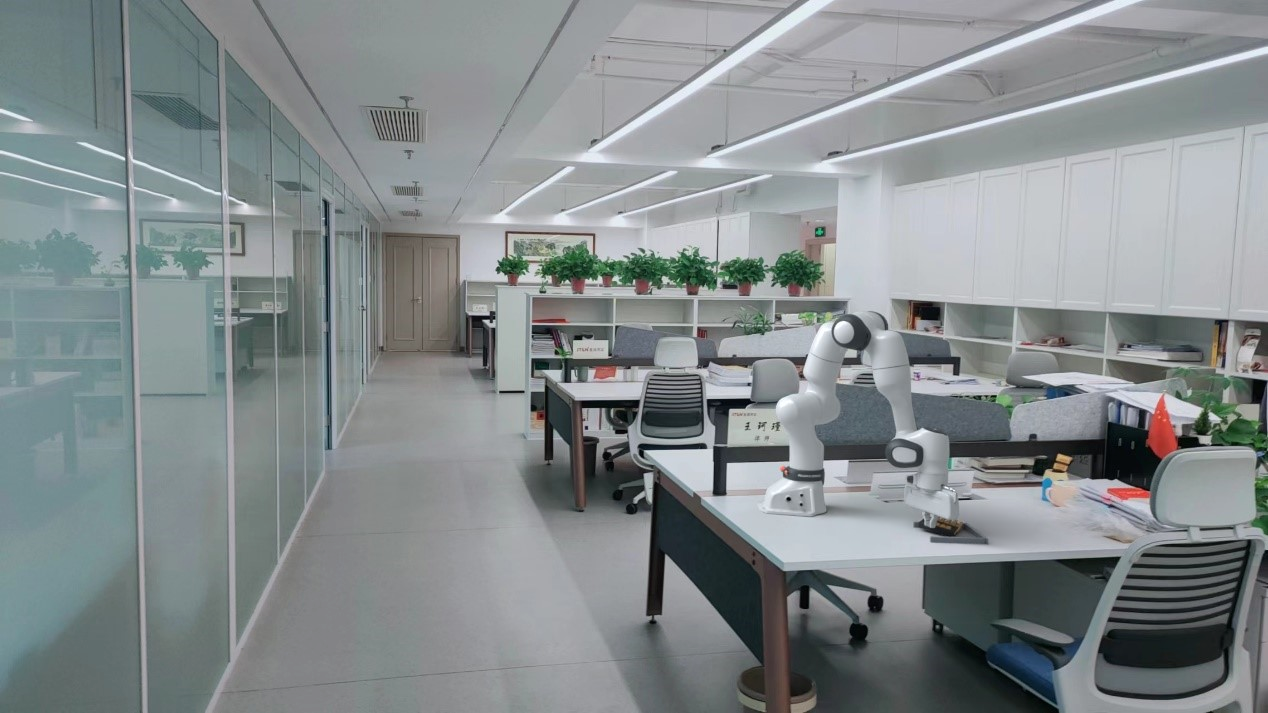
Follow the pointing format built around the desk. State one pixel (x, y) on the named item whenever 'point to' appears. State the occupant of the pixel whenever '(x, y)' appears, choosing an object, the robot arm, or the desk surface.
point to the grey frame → (977, 537)
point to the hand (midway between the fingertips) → (929, 526)
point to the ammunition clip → (943, 527)
